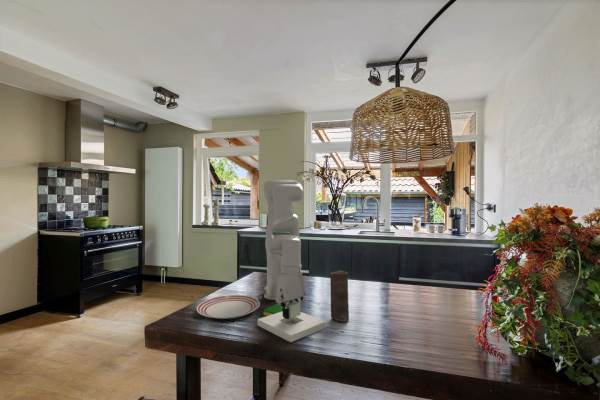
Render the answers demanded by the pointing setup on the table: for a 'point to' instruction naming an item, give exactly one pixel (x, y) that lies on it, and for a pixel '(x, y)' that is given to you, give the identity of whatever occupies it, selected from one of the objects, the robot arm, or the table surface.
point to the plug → (294, 309)
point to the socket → (291, 325)
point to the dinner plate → (228, 306)
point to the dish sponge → (273, 310)
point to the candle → (339, 296)
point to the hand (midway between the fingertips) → (291, 315)
